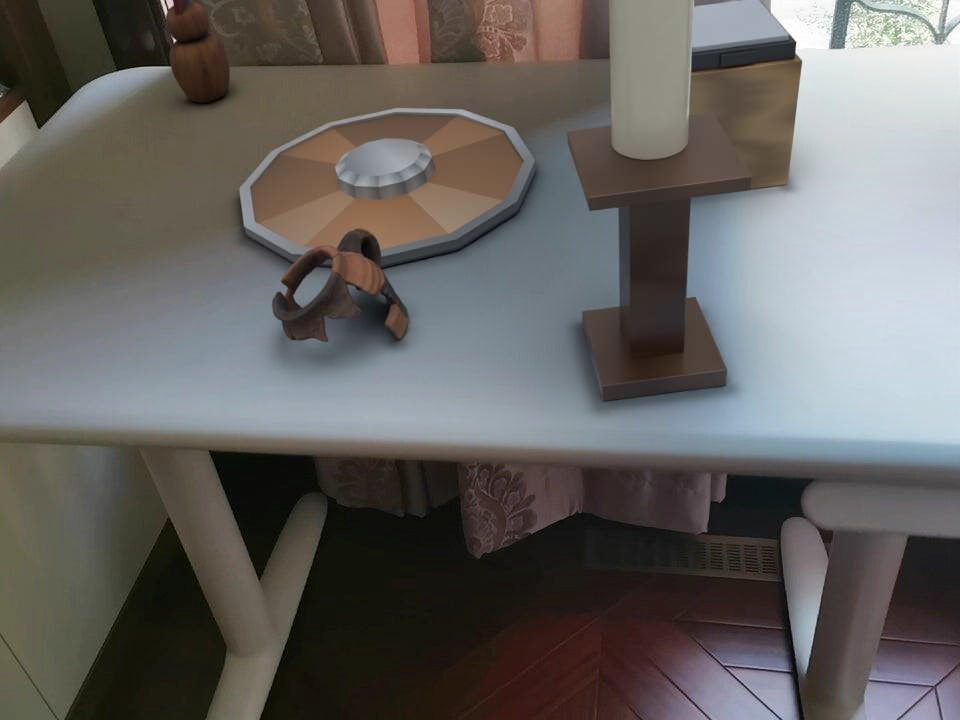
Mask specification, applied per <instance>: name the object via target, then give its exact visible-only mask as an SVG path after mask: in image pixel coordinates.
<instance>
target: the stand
mask: <svg viewBox="0 0 960 720" xmlns="http://www.w3.org/2000/svg"><path fill="white" fill-rule="evenodd" d="M566 133H567V134H566V135H567V145H568V149H569V151H570V154H571V158H572V161H573V164H574V167H575V170H576V173H577V177H578V179H579V183H580V186H581V189H582V192H583V195H584V198H585V201H586V204H587V207H588V210H589V212H594V211H601V210H609V209H616V208H617V209H618V274H619V275H618V278H619V279H618V281H619V282H618V283H619V284H618V287H619V288H618V289H619V291H618V292H619V306H614V307H613V306H612V307H604V308H597V309H589V310H588V309H587V310H582V311H581V319H582V320H581V321H582V322H581V323H582V328H583V329H582V330H583V333H584V337H585V341H586V345H587V348H588V351H589V355H590V359H591V363H592V367H593V371H594V375H595V377H596V382H597V386H598V389H599V393H600V396H601V401H602V402H607V401H614V400H622V399H629V398H636V397H644V396H653V395H661V394H669V393H676V392H685V391H692V390H699V389H708V388H715V387H716V388H717V387H722V386H726V385H727V378H728V377H727V376H728V369H727V366H726V364H725V362H724V360H723V357H722V354H721V353H720V350H719V348H718V346H717V343H716V341H715V339H714V336H713V334H712V331H711V329H710V327H709V325H708V322H707V320H706V317H705V315H704V312H703V311H702V308H701V306H700V304H699V302H698V299H697V296H690V297H687V296H688V295H687V293H688V275H689V274H688V273H689V272H688V271H689V249H690V232H691V231H690V229H691V228H690V227H691V207H692V199H694V198H702V197H703V198H704V197H709V196H716V195H726V194H733V193H740V192H747V191H748V192H749V191H751V190H752V189H751V180H752V176H751V175H750V173H749V171H748V170H747V168H746V166H745V165H744V163H743V161H742V160H741V158H740V156H739V155H738V153H737V152H736V150H735V148H734V147H733V145H732V143H731V142H730V140H729V138H728V137H727V135H726V133H725V132H724V130H723V128H722V127H721V125H720V124H719V122H718V120H717V119H716V117H715V115H714V114H713V113H704V114H697V115H690V116H689V139H688V144H687V146H686V147H685V148H684V149H683V150H682V151H681V152H679V153H677V154H675V155H673V156H670V157H666V158H662V159H654V160H641V159H633V158H629V157H626V156H623V155H621V154H619V153H618V152H616V151H615V150H614V149H613V147H612V145H611V125H605V126H597V127H596V126H595V127H589V128H583V129H582V128H580V129H574V130H573V129H572V130H568V131H567V132H566Z"/></svg>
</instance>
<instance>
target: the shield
mask: <svg viewBox="0 0 960 720" xmlns="http://www.w3.org/2000/svg"><path fill="white" fill-rule="evenodd" d="M536 173H537V162H536V159H535V158H534V156H533V154H532V153H531V151H530V150H529V148H528V147H527V145H526V144H525V142H524V141H523V139H522V138H521V137H520V135H519V133H518V132H517V131H516V128H515V127H514V126H511V125H508V124H506V123H502V122H499V121H498V120H497V121H496V120H494V119H491V118H487V117H485V116H482V115H480V114H477V113H474V112H471V111H468V110H466V109H462V108H461V109H460V108H418V107H417V108H414V107H413V108H411V107H410V108H409V107H408V108H407V107H395V108H391V109H387V110H382V111H377V112H371V113H367V114H362V115H356V116H353V117H349V118H344V119H340V120H335V121H330V122H327V123H325V124H322V125H320V126H319V127H317V128H315V129H312V130H311V131H309V132H307V133H305V134H302V135H301V136H298V137H296V138H295V139H293V140H290V141H289V142H287V143H284V144H283V145H280V146H278V147H277V148H275V149H272V150H271V151H270V152H269V153H268V154H267V155H266V157H264V159H263V160H262V161H261V163H259V165H258V166H257V167H256V168H255V170H254V171H253V172H252V173H251V174H250V175H249V177H248V178H246V180H245V181H244V182H243V183H242V184H241V186H240V187H239V188H238V189H239V191H238V192H239V197H240V198H239V199H240V205H241V212H242V221H243V227H244V231H245V234H246V237H247V238H249V239H250V240H252V241H254V242H256V243H257V244H259V245H261V246H262V247H264V248H266V249H268V250H269V251H271V252H273V253H274V254H276V255H277V256H280V257H281V258H283V259H285V260H286V261H288V262H290V263H292V265H293V264H294V263H295V261H296V260H298V259H299V258H300V257H301V256H302V255H304V254H305V253H306V252H308V251H309V250H311V249H314V248H315V247H318V246H323V245H331V246H334V247H335V248H336V249H337V247H338V245H339V244H340V242H341V240H342V238H343V237H344V236H345V234H346V233H348V232H350V231H353V230H355V229H357V228H361V229H365V230H367V231H369V232H370V233H371V234H373V235H374V236H375V237H376V239H377V241H378V243H379V246H380V251H381V269H383V268H388V267H392V266H396V265H400V264H405V263H408V262H413V261H417V260H421V259H425V258H430V257H434V256H439V255H443V254H447V253H451V252H454V251H458V250H461V249H462V248H464V247H465V246H467V245H469V244H470V243H472V242H473V241H475V240H477V239H478V238H479V237H481V236H482V235H484V234H486V233H488V232H489V231H490V230H492V229H493V228H496V227H497V226H498V225H500V224H502V223H503V222H505V221H506V220H508V219H509V218H511V217H512V216H514V215H516V214H517V213H518V212H519V210H520V208H521V207H522V204H523V203H524V199H525V197H526V195H527V193H528V190H529V188H530V186H531V183H532V181H533V179H534V176H535V174H536ZM318 267H328V268H332V260H331V259H329V260H325V262H324V263H322V264H321V265H319V266H318Z"/></svg>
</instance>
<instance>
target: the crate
mask: <svg viewBox="0 0 960 720" xmlns="http://www.w3.org/2000/svg"><path fill="white" fill-rule="evenodd" d="M802 65H803V60H802V58H801V57H800V56H799V55H798V53H796V52H795V59H788V60H781V61H773V62H765V63H757V64H750V65H742V66H734V67H727V68H719V69H711V70H703V71H696V72H691V92H690V115H697V114H704V113H713V114H714V115H715V117H716V119H717V120H718V122H719V124H720V125H721V127H722V128H723V130H724V132H725V133H726V135H727V137H728V138H729V140H730V142H731V143H732V145H733V147H734V148H735V150H736V152H737V153H738V155H739V156H740V158H741V160H742V161H743V163H744V165H745V166H746V168H747V170H748V171H749V173H750V175H751V176H752V180H751V190H753V189H754V190H755V189H763V188H770V187H779V186H785V185H788V183H789V177H790V176H789V175H790V167H791V159H792V150H793V141H794V133H795V125H796V117H797V108H798V100H799V93H800V92H799V90H800V83H801V75H802V67H803V66H802Z"/></svg>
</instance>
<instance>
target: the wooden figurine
mask: <svg viewBox="0 0 960 720" xmlns="http://www.w3.org/2000/svg"><path fill="white" fill-rule="evenodd" d="M172 4H173V5H172V6H170V7H169V8H168V9H167V12H166V15H165V23H166V27H167V30H168V32H169V35H170V36H171V37H172V38H173V39H174V40H175V41H174V42H173V44H172V46H171V48H170V51H169V63H170V68H171V72H172V75H173V77H174V79H175V81H176V83H177V84H178V86H179V87H180V89H181V90H182V92H183V93H184V94H185V95H186V97H187V98H188V99H189V100H191V101H194V102H196V103H201V104H202V103H210V102H213V101H215V100H218V99H220V98H221V97H223V96H224V95H225V94H226V93H227V91H228V89H229V85H230V79H231V78H230V75H231V71H230V70H231V69H230V63H229V58H228V55H227V51H226V49H225V47H224V45H223V44H222V41H221V40H220V38H219V37H218V36H217V35H216V34H215V33H214V32H212V31H209V28H210V21H209V18H208V15H207V12H206V11H205V9H204V7H203V6H202V5H201V4H200V3H198V2H194V1H190V0H172Z"/></svg>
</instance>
